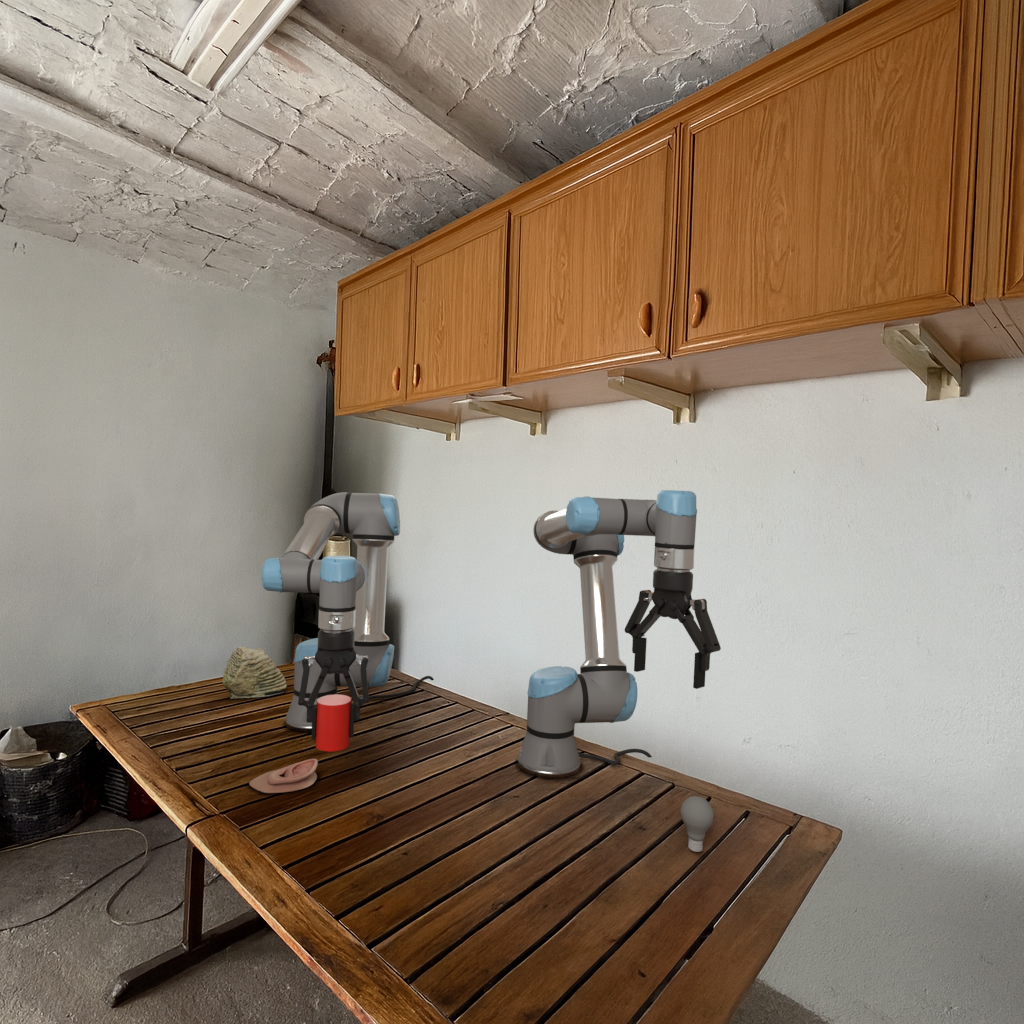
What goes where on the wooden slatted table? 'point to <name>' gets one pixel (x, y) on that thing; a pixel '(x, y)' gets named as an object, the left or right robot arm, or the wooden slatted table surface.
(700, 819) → the light bulb
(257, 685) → the fossil
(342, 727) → the cylinder
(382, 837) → the wooden slatted table surface
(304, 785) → the anatomical model
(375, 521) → the left robot arm
